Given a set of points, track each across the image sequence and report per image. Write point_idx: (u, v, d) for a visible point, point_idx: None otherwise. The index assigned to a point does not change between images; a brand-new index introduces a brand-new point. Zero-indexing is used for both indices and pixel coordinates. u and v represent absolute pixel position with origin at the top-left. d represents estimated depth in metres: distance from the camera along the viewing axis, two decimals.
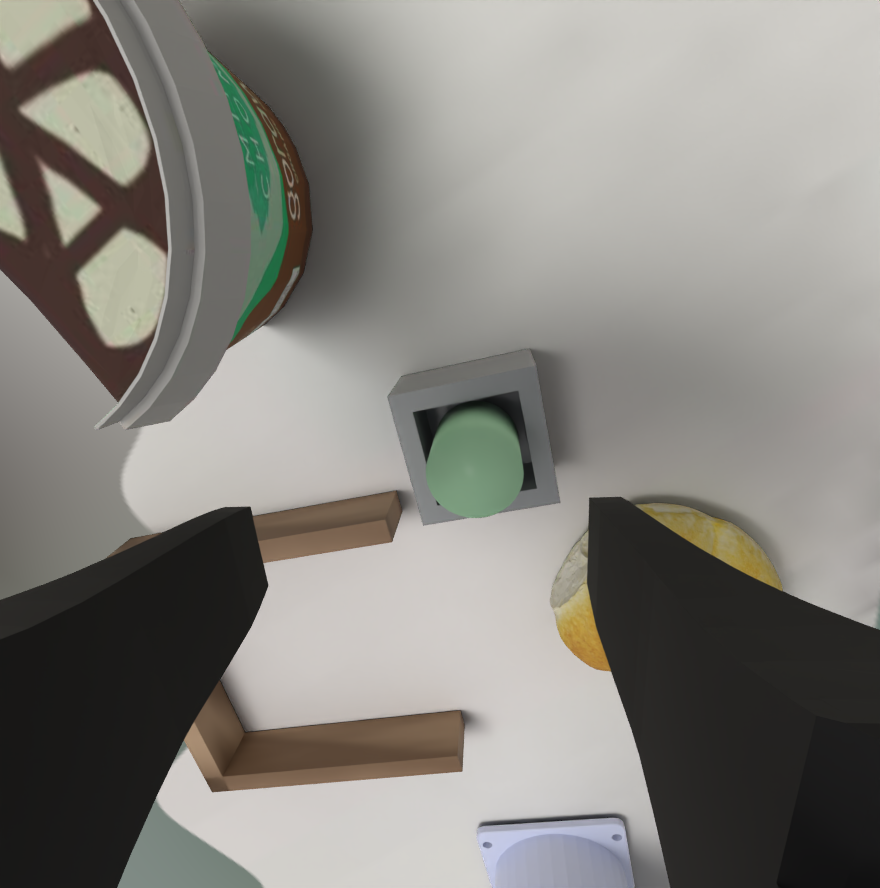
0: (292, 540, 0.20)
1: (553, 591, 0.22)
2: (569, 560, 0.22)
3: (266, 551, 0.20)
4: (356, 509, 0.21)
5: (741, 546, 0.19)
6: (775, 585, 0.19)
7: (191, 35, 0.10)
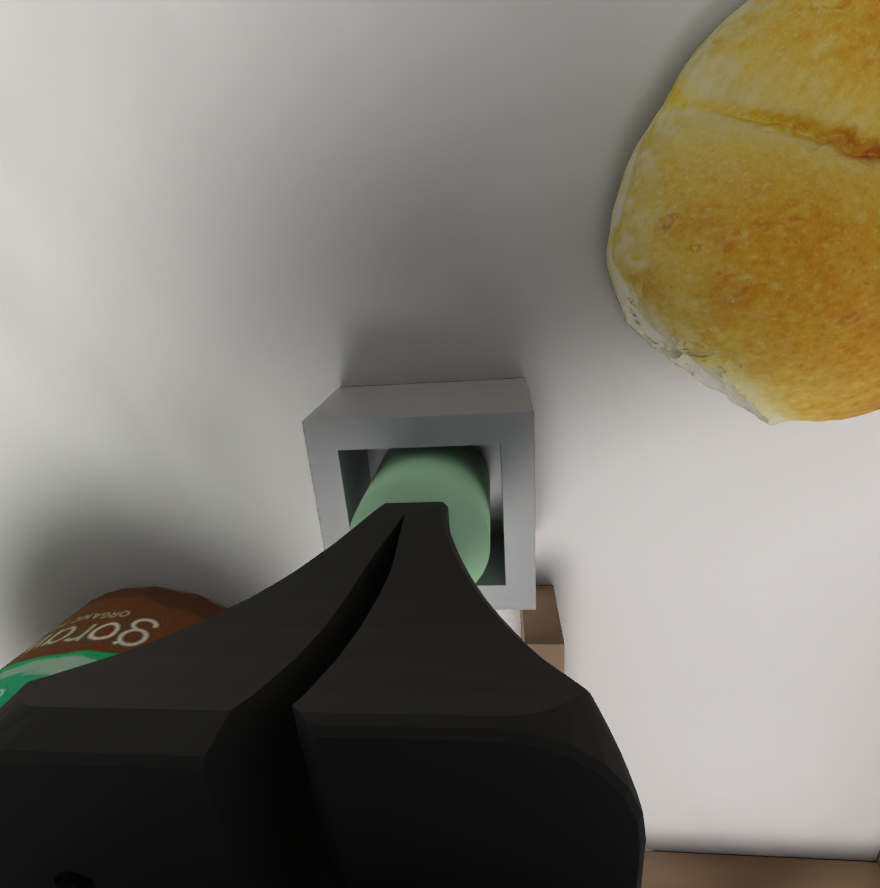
0: None
1: (746, 409, 0.12)
2: (691, 373, 0.12)
3: None
4: None
5: (731, 45, 0.09)
6: None
7: None
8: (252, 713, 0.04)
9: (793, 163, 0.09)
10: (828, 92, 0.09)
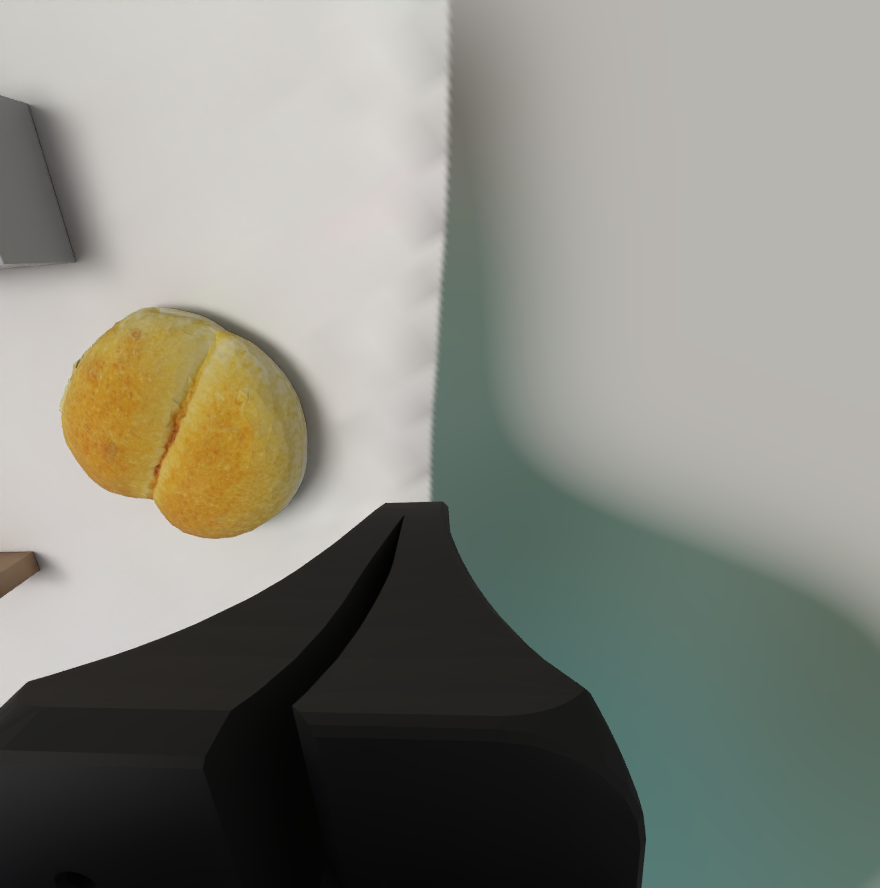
0: None
1: None
2: None
3: None
4: None
5: (235, 358, 0.18)
6: (265, 405, 0.18)
7: None
8: (252, 713, 0.04)
9: (164, 392, 0.17)
10: (199, 402, 0.17)
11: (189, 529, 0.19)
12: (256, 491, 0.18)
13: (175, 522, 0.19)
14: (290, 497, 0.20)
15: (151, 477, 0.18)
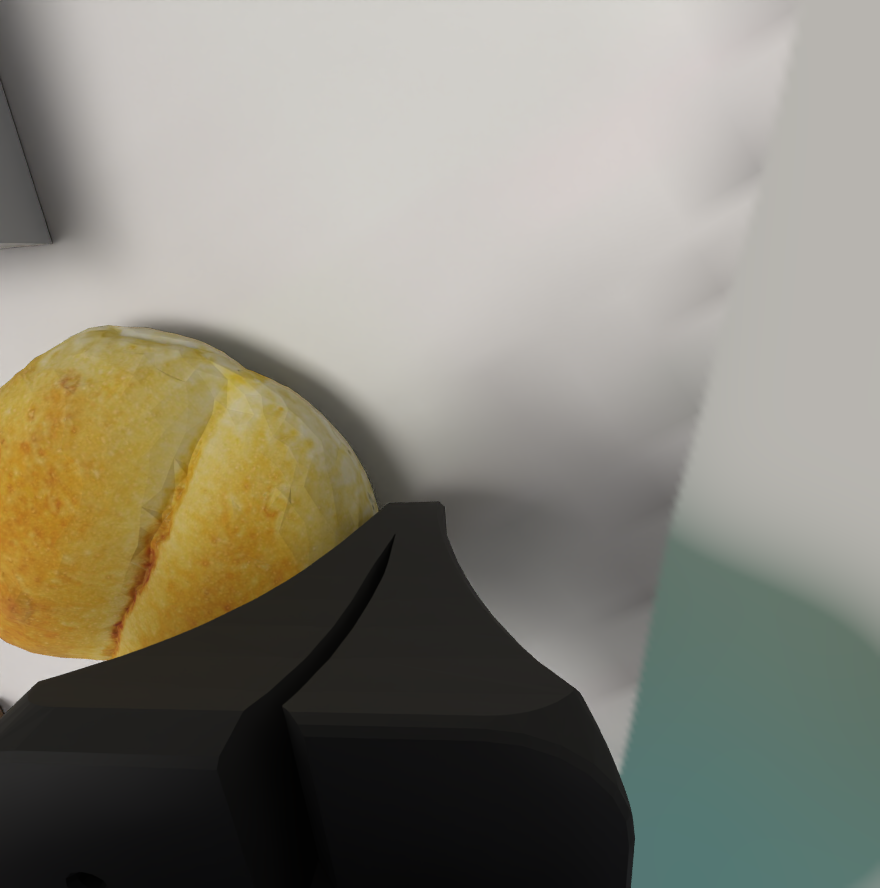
0: None
1: None
2: None
3: None
4: None
5: (265, 424, 0.09)
6: (321, 513, 0.09)
7: None
8: (264, 713, 0.04)
9: (126, 495, 0.09)
10: (196, 512, 0.09)
11: None
12: None
13: None
14: None
15: (106, 641, 0.10)
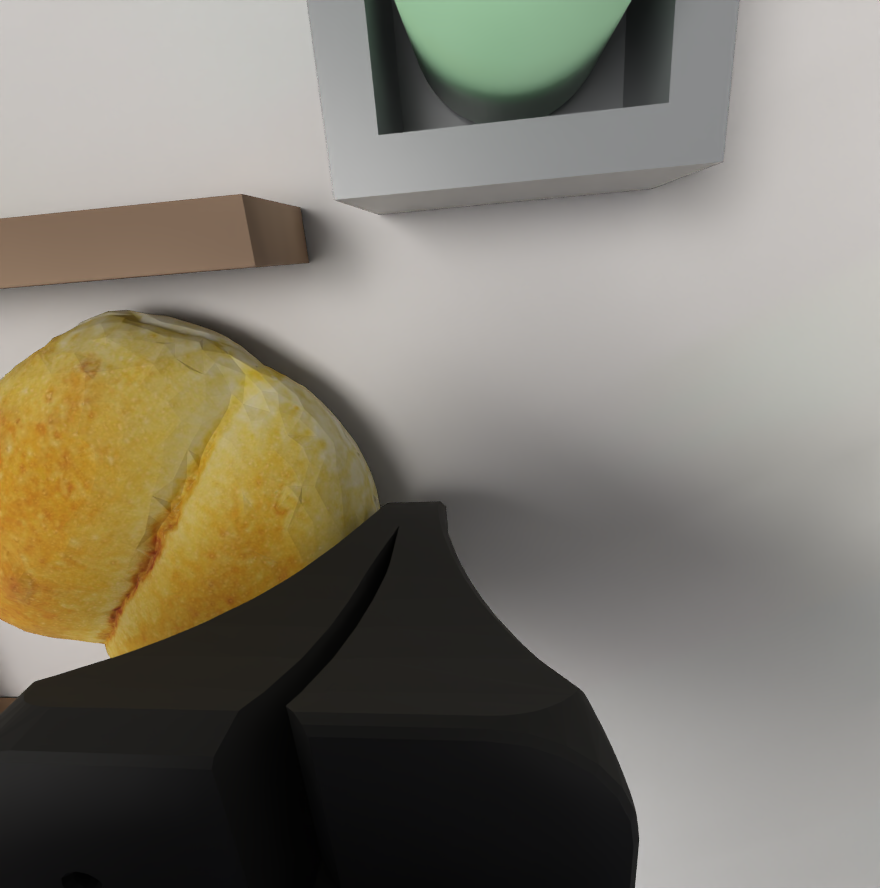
0: (7, 234, 0.08)
1: None
2: None
3: None
4: None
5: (280, 422, 0.09)
6: (329, 514, 0.09)
7: None
8: (260, 713, 0.04)
9: (138, 482, 0.09)
10: (206, 504, 0.09)
11: None
12: None
13: None
14: None
15: (103, 625, 0.10)
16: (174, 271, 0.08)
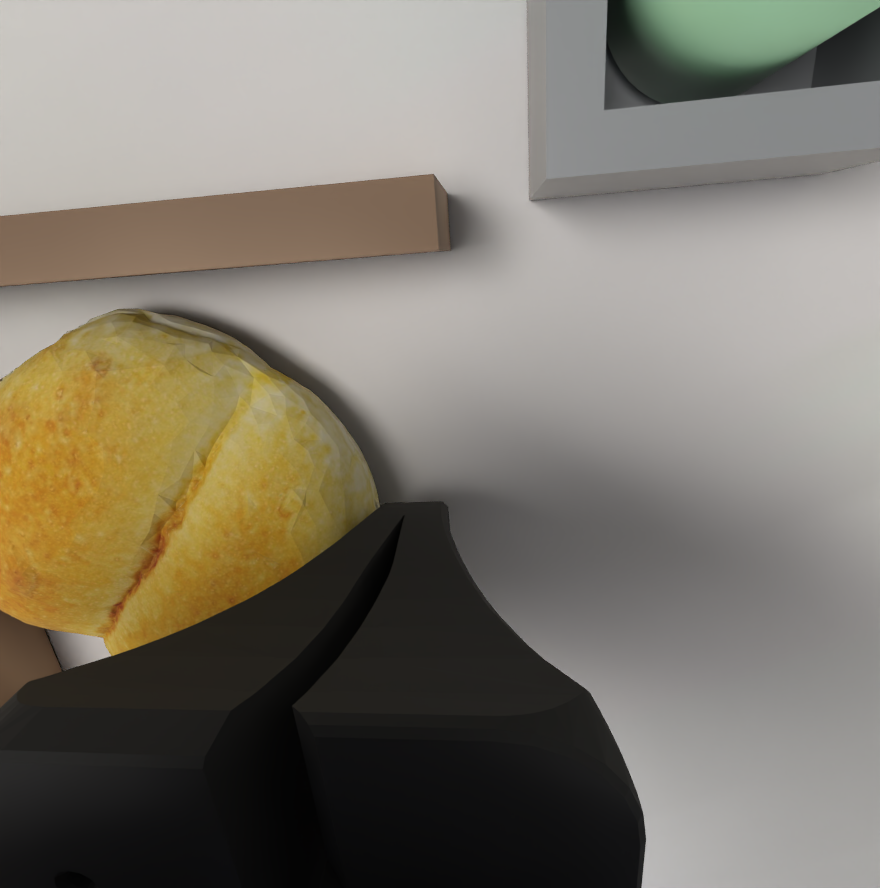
0: (176, 216, 0.08)
1: None
2: None
3: (106, 243, 0.08)
4: None
5: (287, 426, 0.10)
6: (332, 518, 0.10)
7: None
8: (252, 713, 0.04)
9: (145, 481, 0.09)
10: (211, 505, 0.09)
11: None
12: None
13: None
14: None
15: (103, 620, 0.10)
16: (350, 255, 0.08)
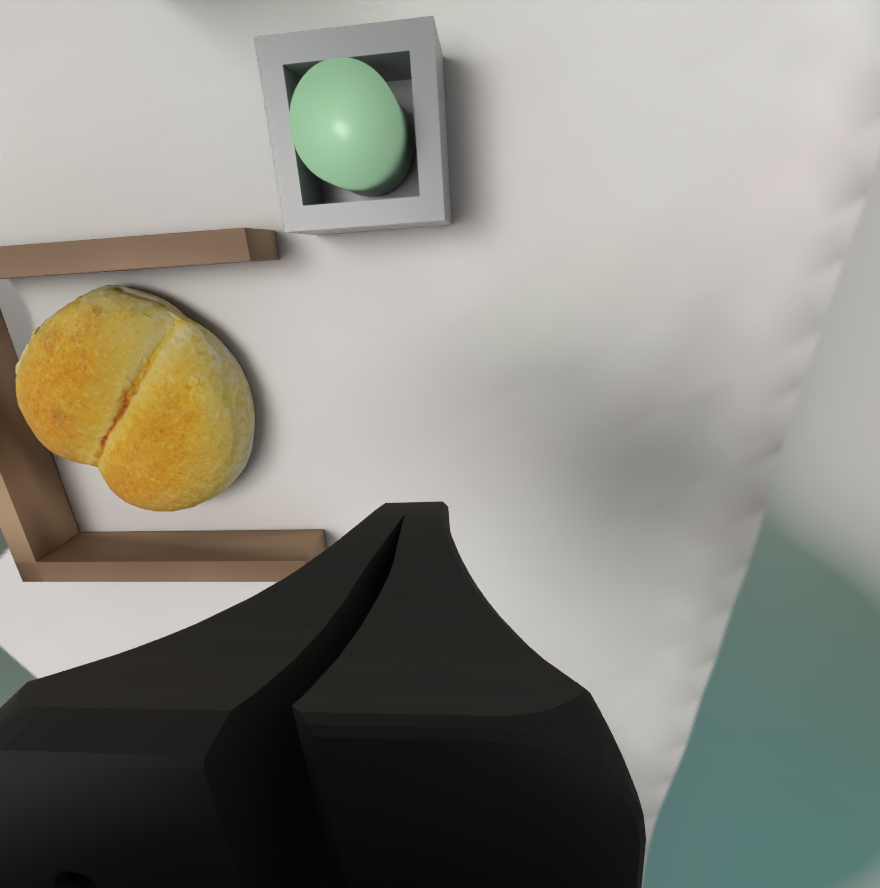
0: (133, 243, 0.17)
1: None
2: None
3: (101, 255, 0.17)
4: None
5: (191, 345, 0.19)
6: (214, 392, 0.19)
7: None
8: (252, 713, 0.04)
9: (118, 368, 0.18)
10: (151, 382, 0.18)
11: (130, 500, 0.20)
12: (197, 471, 0.19)
13: (117, 491, 0.20)
14: (231, 480, 0.21)
15: (97, 447, 0.19)
16: (212, 262, 0.17)
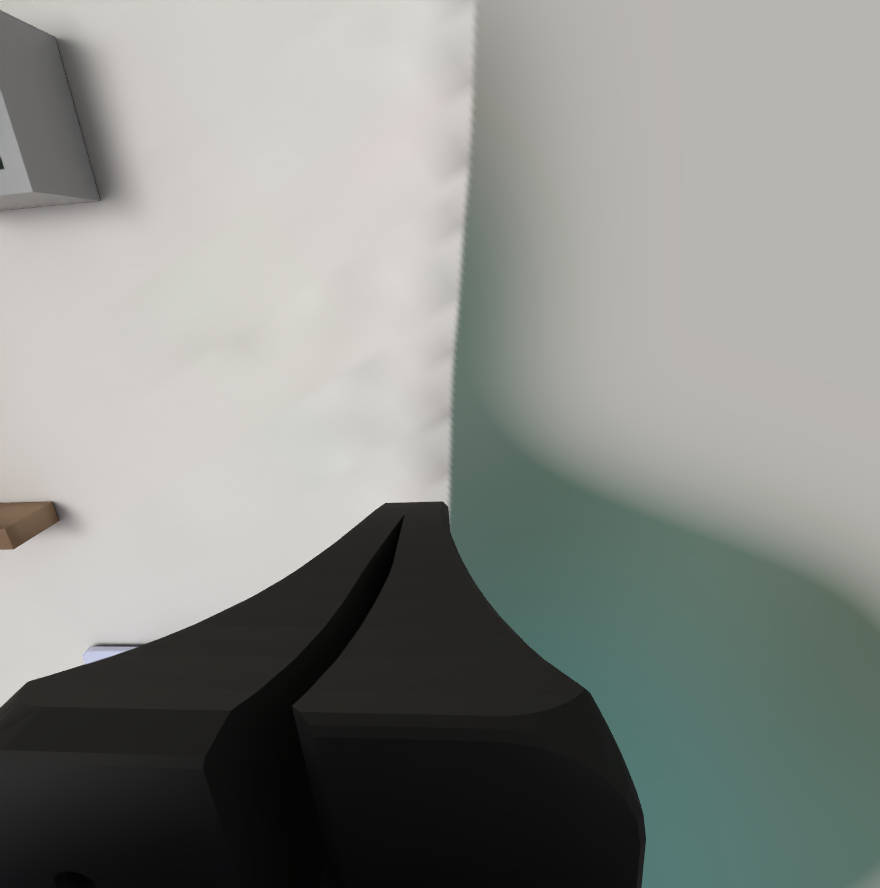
0: None
1: None
2: None
3: None
4: None
5: None
6: None
7: None
8: (252, 713, 0.04)
9: None
10: None
11: None
12: None
13: None
14: None
15: None
16: None
